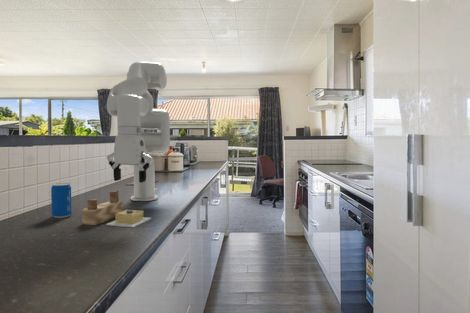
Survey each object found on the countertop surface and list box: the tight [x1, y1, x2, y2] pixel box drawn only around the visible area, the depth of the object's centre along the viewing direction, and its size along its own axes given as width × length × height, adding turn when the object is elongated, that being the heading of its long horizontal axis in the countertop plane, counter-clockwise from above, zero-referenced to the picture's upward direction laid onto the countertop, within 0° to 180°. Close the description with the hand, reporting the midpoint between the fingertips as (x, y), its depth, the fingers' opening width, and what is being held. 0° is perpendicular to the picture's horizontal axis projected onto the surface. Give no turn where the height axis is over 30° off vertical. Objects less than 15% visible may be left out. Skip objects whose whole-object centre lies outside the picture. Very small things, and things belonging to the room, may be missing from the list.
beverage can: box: [50, 182, 73, 219], centre depth 122 cm, size 6×6×12 cm
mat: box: [106, 216, 152, 228], centre depth 116 cm, size 12×10×1 cm
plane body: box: [81, 190, 124, 226], centre depth 119 cm, size 16×5×9 cm, turn 166°
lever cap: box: [114, 209, 144, 224], centre depth 116 cm, size 7×6×4 cm
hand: (129, 181), depth 116 cm, fingers open, 9 cm apart
